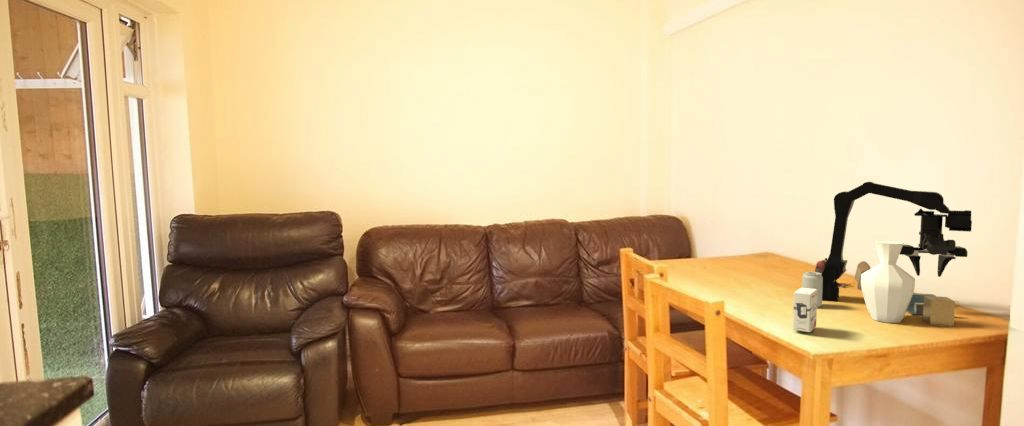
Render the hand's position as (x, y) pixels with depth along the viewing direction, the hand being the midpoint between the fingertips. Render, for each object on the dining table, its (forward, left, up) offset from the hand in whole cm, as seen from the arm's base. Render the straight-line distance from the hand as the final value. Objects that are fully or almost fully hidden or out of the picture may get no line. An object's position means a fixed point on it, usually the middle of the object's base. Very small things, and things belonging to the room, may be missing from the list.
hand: (928, 276), depth 184 cm
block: (-2, -15, -12) cm, 19 cm away
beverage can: (-35, -2, -12) cm, 37 cm away
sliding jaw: (0, +8, -12) cm, 15 cm away
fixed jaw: (0, -5, -12) cm, 13 cm away
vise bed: (0, +2, -12) cm, 12 cm away
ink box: (-42, -32, -13) cm, 54 cm away
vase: (-16, -14, -13) cm, 24 cm away
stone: (-10, +37, -13) cm, 40 cm away
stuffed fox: (-22, +32, -13) cm, 41 cm away
